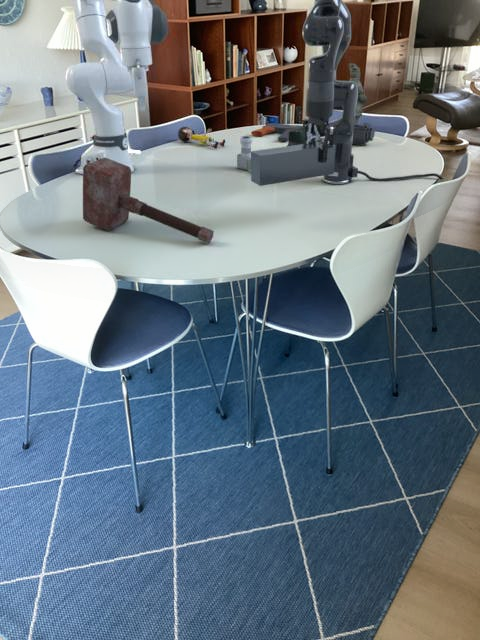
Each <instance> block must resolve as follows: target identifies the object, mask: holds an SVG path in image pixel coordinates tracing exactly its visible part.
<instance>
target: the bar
mask: <svg viewBox="0 0 480 640" xmlns="http://www.w3.org/2000/svg"><path fill="white" fill-rule="evenodd" d="M322 142H323V145H324V141H322ZM329 144H330V143H329ZM286 146H287V145H286ZM286 146H279V147H273V148H265V149H259V150H251V172H250V181H251V182H252V183H254V184H256V185H257V186H258V187H264V186H270V185H275V184H281V183H287V182H293V181H299V180H307V179H313V178H318V177H324V176H325V175H331V174H334V164H335V149H336V145H334V144H333V147H332V148H329V149H328V153H327V162H325V163H320V162H319V153H320V146H319V142H315V143H308V144H301V145H294V146H287V147H286Z"/></svg>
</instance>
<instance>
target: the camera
mask: <svg viewBox="0 0 480 640" xmlns="http://www.w3.org/2000/svg"><path fill="white" fill-rule="evenodd" d="M239 140H240V153H238V154H236V168H237V169H240V170H244V171H248V173H251V151H252V143H253V141H252V140H253V139H252V135H242V136H240V139H239Z"/></svg>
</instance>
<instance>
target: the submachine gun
mask: <svg viewBox="0 0 480 640" xmlns="http://www.w3.org/2000/svg"><path fill="white" fill-rule="evenodd" d="M298 128H303V125H298V124H288V123H286V124H285V123H273V122H269V123H265V125H262V127H261V128H258V129H254V130H252V131H251V132H250V133H251V134H250V135H251V136H255V137H262V136H264V135H266V134H271V133H278V134H280V135H279V136H278V137H277V141H278V142H288V140H289V131H291V130H294V129H298ZM307 128H308V127H307Z"/></svg>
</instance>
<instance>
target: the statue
mask: <svg viewBox="0 0 480 640" xmlns="http://www.w3.org/2000/svg"><path fill="white" fill-rule="evenodd" d="M348 70H349V73H350V75H349V76H350V78H349V80H348V81H352V82H355V83H356V84H357V86H358V99H357V106H356V114H355V123H354V125H355V124H357V125H359V124H358V123H359V121H360V118H361V117H362V116H363V108H364V104H365V103H367V102H368V96H367V95H366V94H365V91H364V86H363V84H362V82H361V68H360V67H359V66H358V65H357V64H356V63H351V62H350V63H348Z"/></svg>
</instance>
